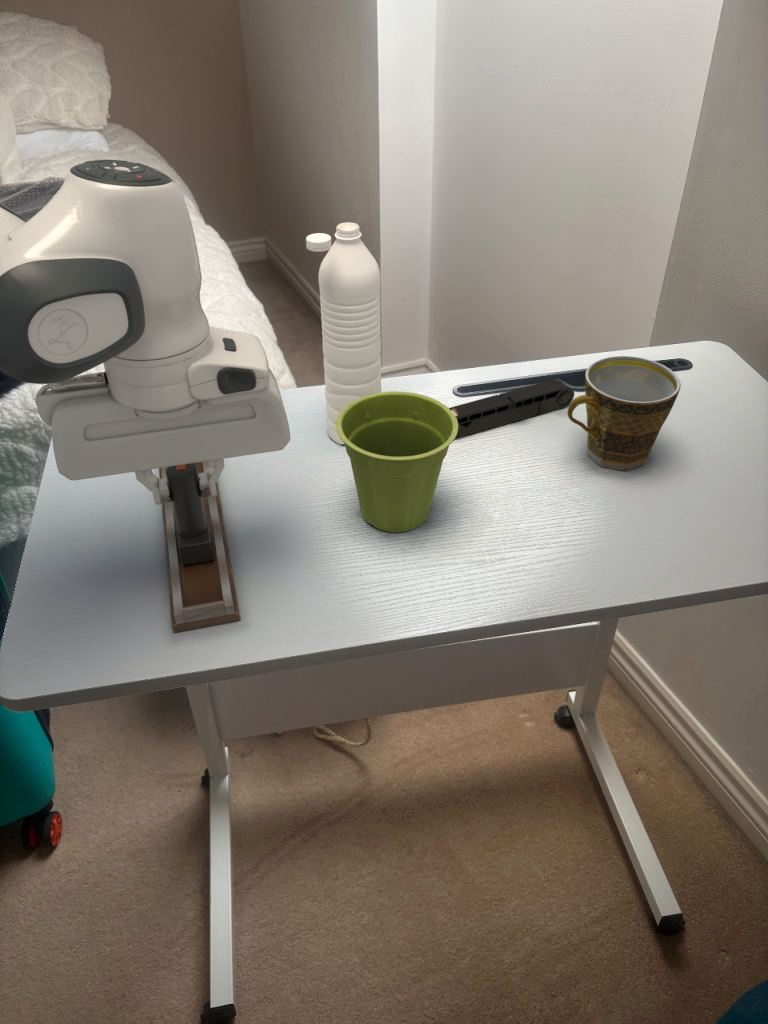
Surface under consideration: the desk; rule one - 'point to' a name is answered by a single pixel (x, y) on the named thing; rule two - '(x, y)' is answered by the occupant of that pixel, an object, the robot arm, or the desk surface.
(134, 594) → the desk surface
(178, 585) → the rail
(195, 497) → the nozzle
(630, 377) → the ceramic cup
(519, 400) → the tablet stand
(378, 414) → the plant pot
